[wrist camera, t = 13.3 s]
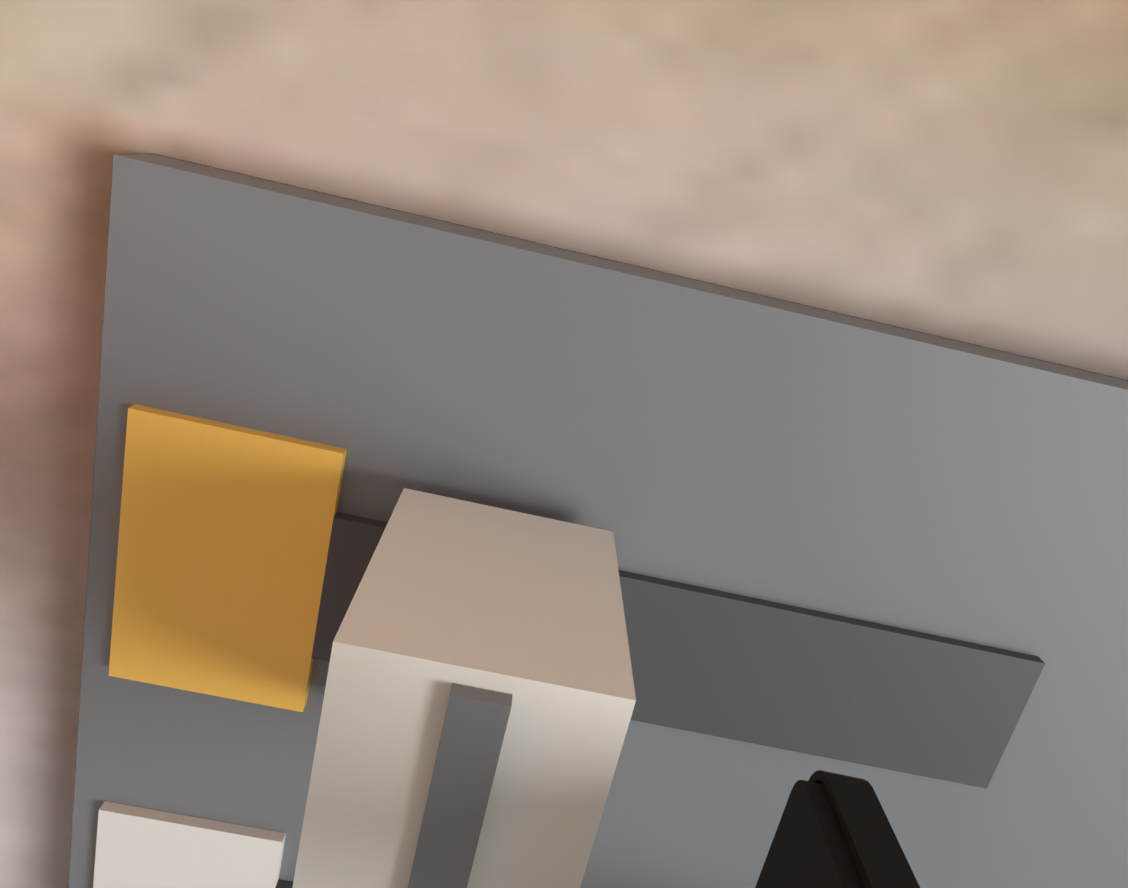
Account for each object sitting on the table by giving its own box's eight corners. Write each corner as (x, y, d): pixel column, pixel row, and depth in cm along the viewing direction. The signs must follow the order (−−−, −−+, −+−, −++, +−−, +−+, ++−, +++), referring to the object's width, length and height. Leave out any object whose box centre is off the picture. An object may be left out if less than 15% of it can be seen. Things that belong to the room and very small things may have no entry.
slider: (551, 760, 14) (547, 1012, 10) (360, 724, 13) (275, 967, 9) (613, 531, 12) (637, 712, 8) (404, 487, 12) (328, 652, 8)
